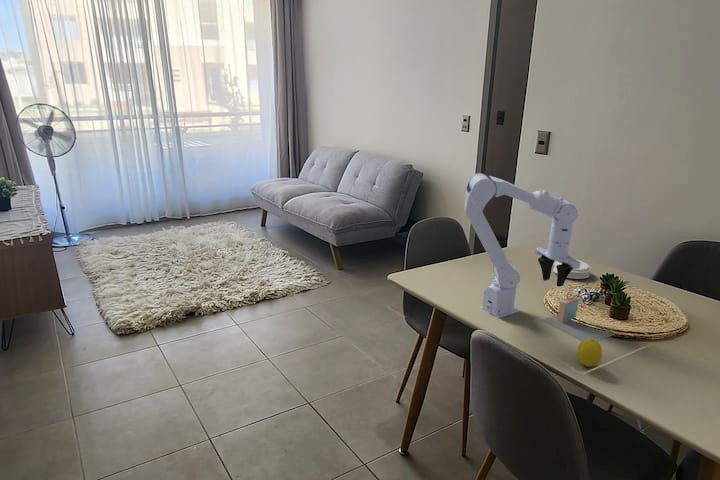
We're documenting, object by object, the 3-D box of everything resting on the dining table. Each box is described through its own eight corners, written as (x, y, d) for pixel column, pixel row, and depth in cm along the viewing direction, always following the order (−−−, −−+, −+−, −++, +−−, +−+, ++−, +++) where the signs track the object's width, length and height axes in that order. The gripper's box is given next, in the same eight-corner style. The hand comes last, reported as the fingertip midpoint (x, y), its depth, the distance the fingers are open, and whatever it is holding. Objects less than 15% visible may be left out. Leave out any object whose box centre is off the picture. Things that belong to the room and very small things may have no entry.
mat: (588, 346, 126) (588, 344, 126) (540, 321, 139) (540, 319, 139) (615, 335, 131) (615, 334, 131) (567, 312, 144) (567, 311, 144)
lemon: (578, 357, 120) (583, 330, 118) (601, 365, 117) (607, 338, 114) (572, 367, 116) (577, 339, 114) (595, 375, 113) (601, 347, 110)
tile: (562, 323, 137) (566, 303, 135) (557, 320, 139) (560, 300, 136) (575, 318, 140) (579, 299, 138) (570, 315, 141) (573, 296, 139)
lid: (564, 281, 167) (566, 269, 166) (546, 268, 179) (548, 256, 178) (596, 280, 169) (598, 267, 167) (576, 267, 181) (578, 255, 179)
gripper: (590, 245, 133) (582, 288, 137) (548, 232, 145) (542, 272, 149) (573, 249, 130) (566, 293, 134) (532, 235, 142) (527, 276, 146)
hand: (552, 282), depth 141 cm, fingers open, 4 cm apart
